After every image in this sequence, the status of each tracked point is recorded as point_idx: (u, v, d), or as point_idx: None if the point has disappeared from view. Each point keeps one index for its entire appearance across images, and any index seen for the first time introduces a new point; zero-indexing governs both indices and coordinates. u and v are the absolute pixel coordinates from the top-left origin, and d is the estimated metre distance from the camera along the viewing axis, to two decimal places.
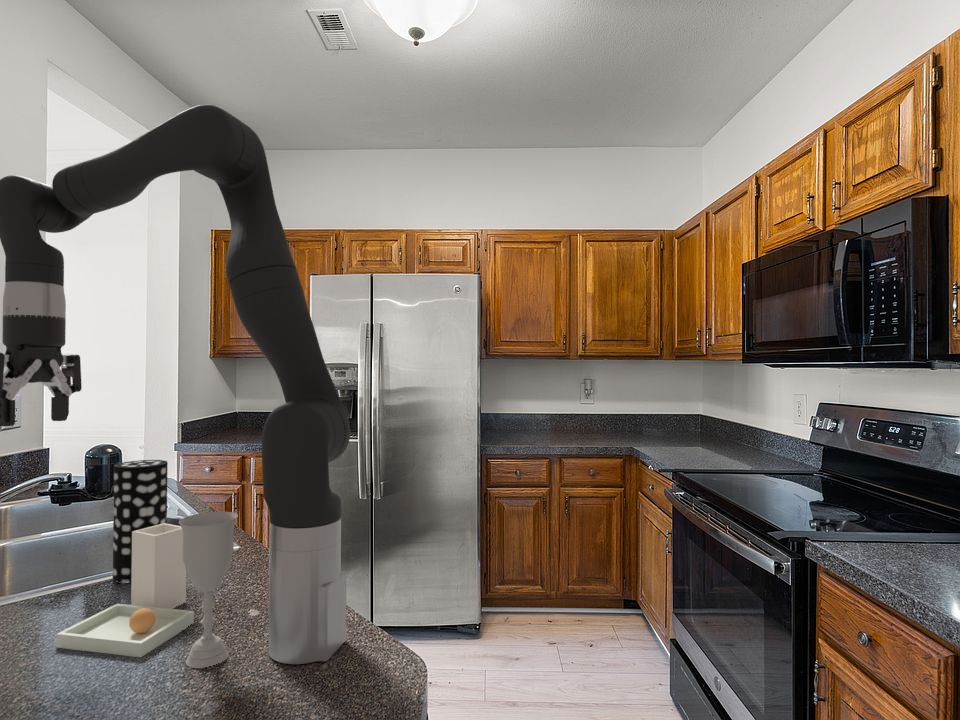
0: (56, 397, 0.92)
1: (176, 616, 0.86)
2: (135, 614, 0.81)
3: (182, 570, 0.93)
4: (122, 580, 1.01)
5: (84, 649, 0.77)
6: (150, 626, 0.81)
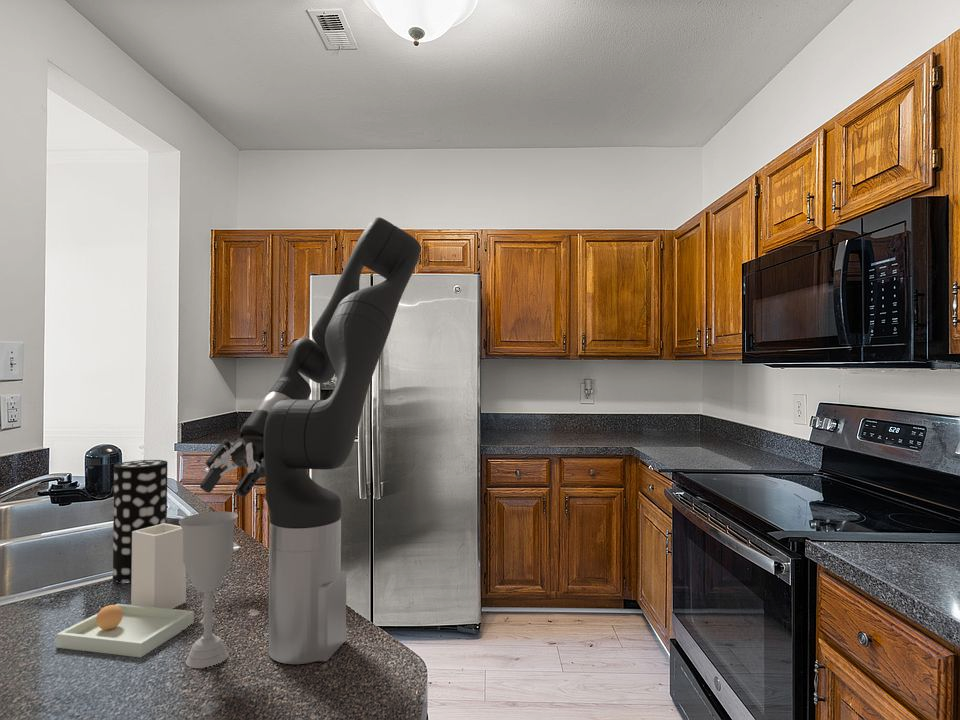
0: (216, 472, 1.06)
1: (176, 616, 0.86)
2: (107, 628, 0.82)
3: (182, 570, 0.93)
4: (122, 580, 1.01)
5: (84, 649, 0.77)
6: None
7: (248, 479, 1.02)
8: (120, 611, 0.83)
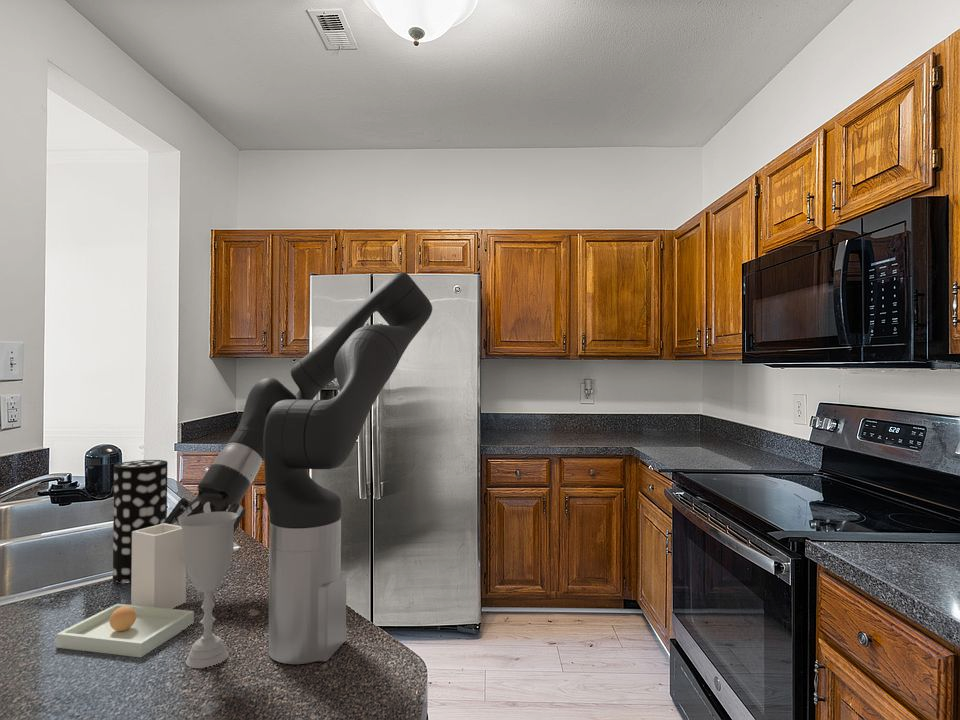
0: None
1: (176, 616, 0.86)
2: (111, 626, 0.81)
3: (182, 570, 0.93)
4: (122, 580, 1.01)
5: (84, 649, 0.77)
6: (121, 607, 0.82)
7: None
8: (131, 625, 0.83)
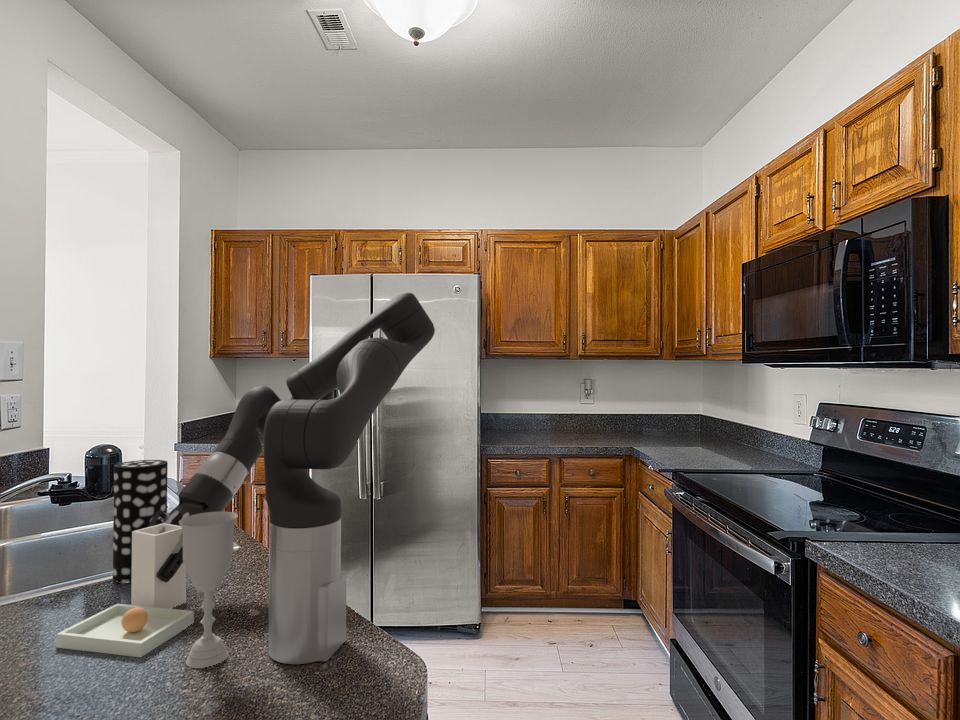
0: None
1: (176, 616, 0.86)
2: (122, 617, 0.81)
3: (182, 570, 0.93)
4: (122, 580, 1.01)
5: (84, 649, 0.77)
6: (142, 617, 0.81)
7: (172, 561, 0.90)
8: None
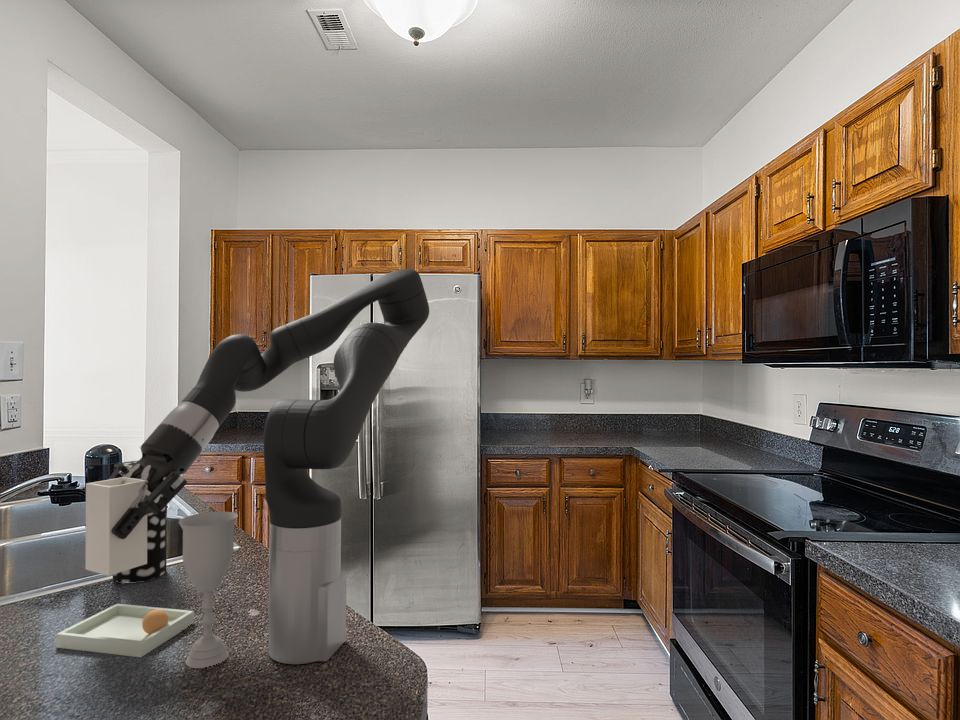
0: None
1: (176, 616, 0.86)
2: (157, 621, 0.80)
3: (142, 527, 0.84)
4: (122, 580, 1.01)
5: (84, 649, 0.77)
6: None
7: (130, 516, 0.81)
8: None
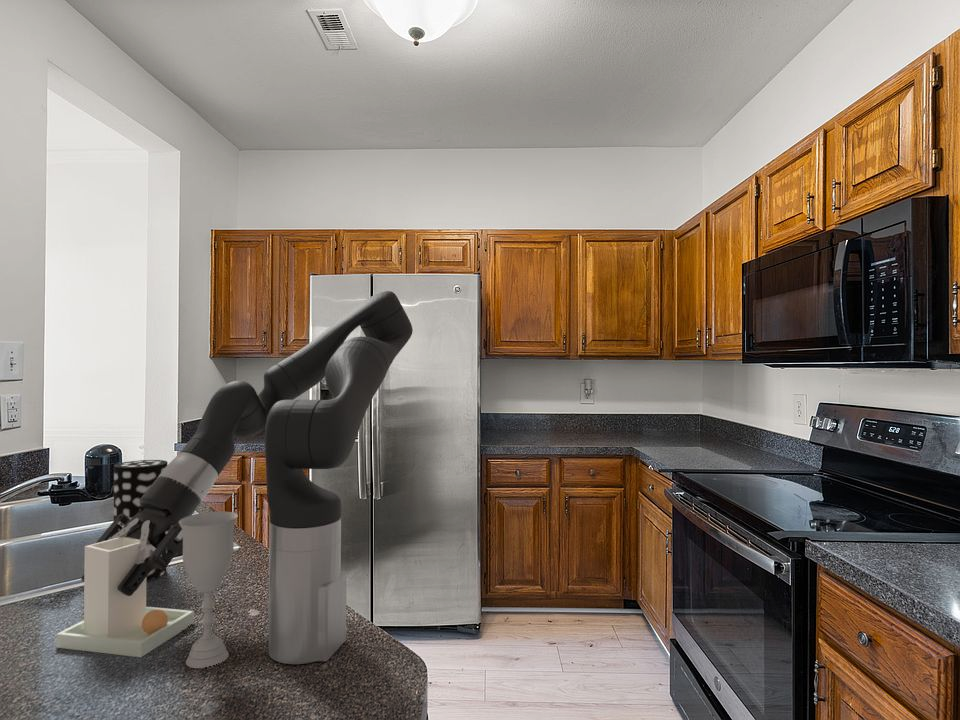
0: None
1: (176, 616, 0.86)
2: (156, 620, 0.80)
3: (141, 589, 0.83)
4: None
5: (84, 649, 0.77)
6: None
7: (136, 572, 0.80)
8: (151, 611, 0.82)
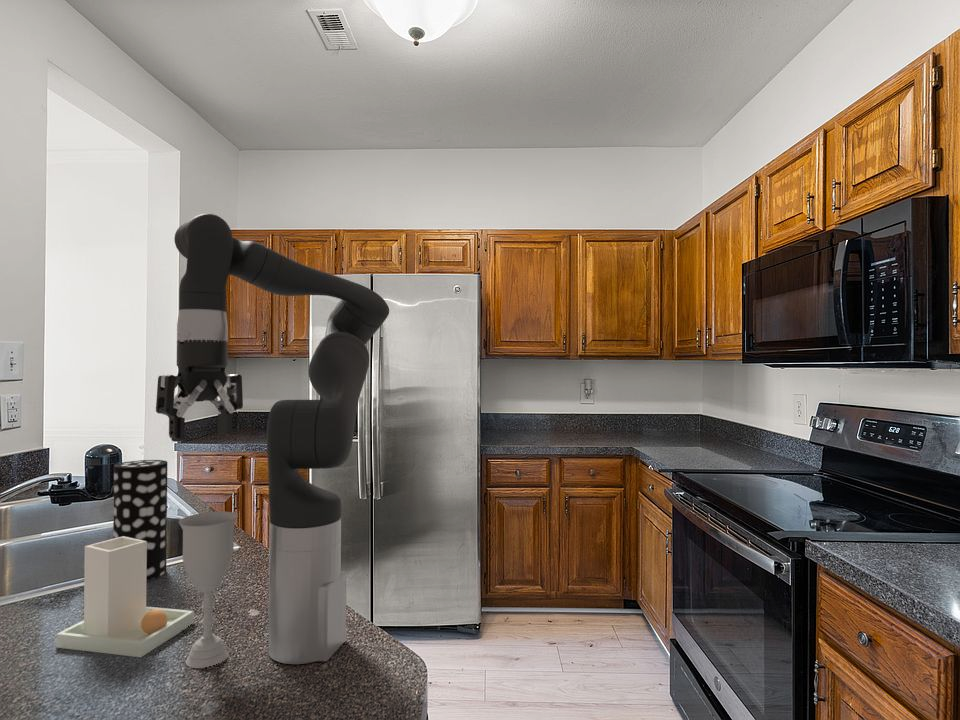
0: None
1: (176, 616, 0.86)
2: (155, 620, 0.80)
3: (141, 589, 0.83)
4: None
5: (84, 649, 0.77)
6: None
7: (230, 419, 1.00)
8: None
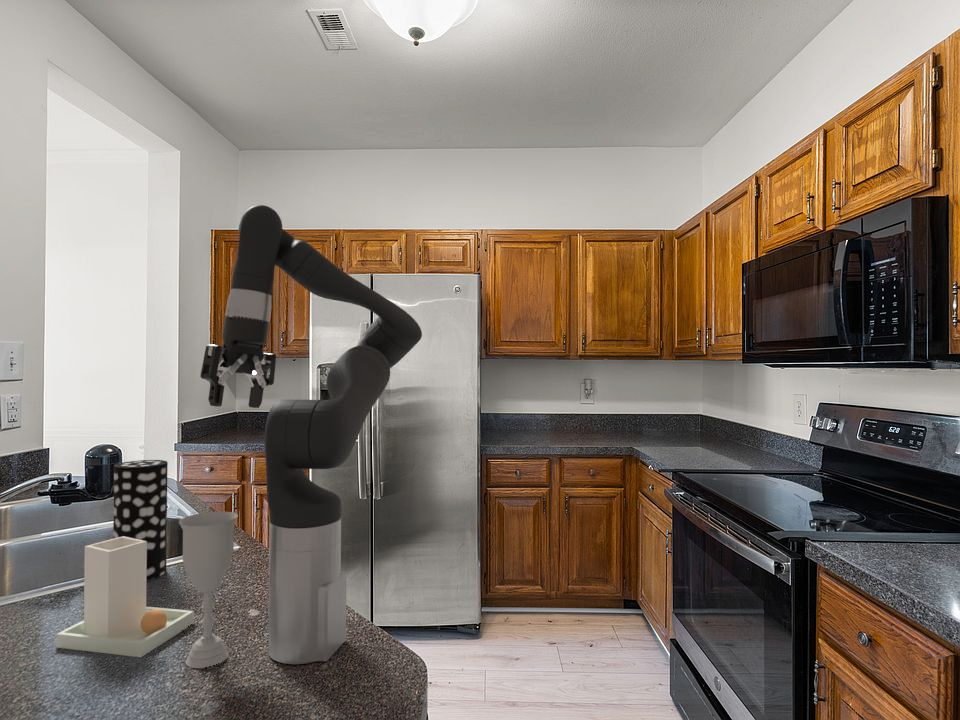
0: None
1: (176, 616, 0.86)
2: (155, 619, 0.80)
3: (141, 589, 0.83)
4: None
5: (84, 649, 0.77)
6: None
7: (261, 393, 1.09)
8: None
